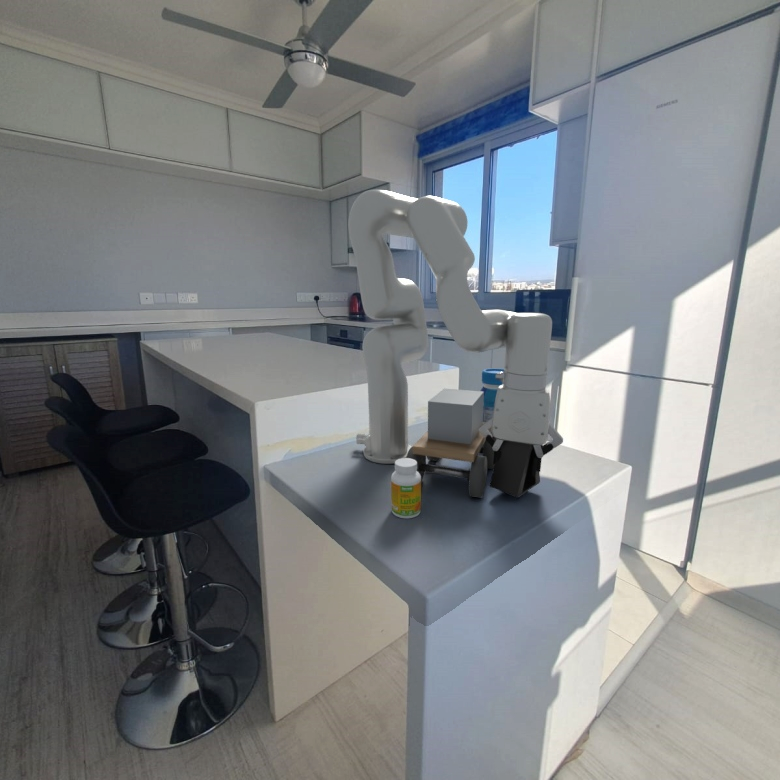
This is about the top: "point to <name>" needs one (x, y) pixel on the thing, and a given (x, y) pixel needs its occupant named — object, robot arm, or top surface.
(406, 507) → the supplement bottle
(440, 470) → the trolley
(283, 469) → the top surface
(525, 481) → the phone stand
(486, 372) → the beverage bottle
